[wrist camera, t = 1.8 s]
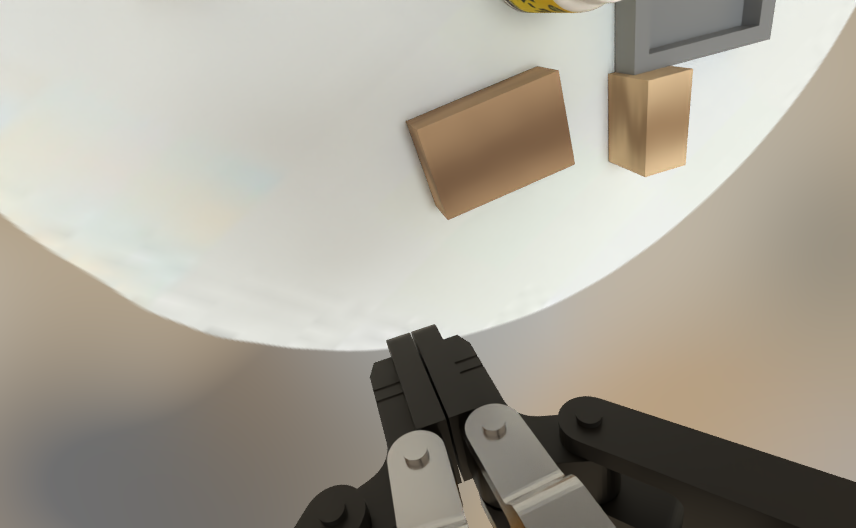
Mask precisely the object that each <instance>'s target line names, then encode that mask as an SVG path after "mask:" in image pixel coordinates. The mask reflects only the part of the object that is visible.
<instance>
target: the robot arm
mask: <svg viewBox="0 0 856 528" xmlns="http://www.w3.org/2000/svg"><path fill="white" fill-rule="evenodd" d="M411 333H412V337H411V334H410V333H407V334H404V335H401V336H398V337H395V338H392V339H389V340H386V341H387V345H388V348H389V352H390V354H391V357H390V358H387V359H384V360H381V361H378V362H375V363H374V365H373V368H372V372H371V375H370V379H371V383H372V387H373V391H374V395H375V399H376V402H377V407H378V411H379V414H380V418H381V422H382V426H383V430H384V434H385V438H386V441H387V447H388V452H387V457H386V460H385V462H384V464H383V466H382V468H381V469H380V470H379V472H378V473H377V474H376V475H375V476H374V477H372V478H371V479H370V480H369V481H367V482H366V483H365V484H363V485H362V486H360V487H359V488H358V489H356V488H354V487H352V486H348V485H337V486H333V487H330V488H328V489H325V490H324V491H322V492H321V493H319V494H318V495H317V496H316V497H315V498H314V499H313V500H312V501H311V502H310V503H309V505H308V506H307V508H306V510H305V511H304V513H303V514H302V516H301V518H300V519H299V521H298V523H297V524H296V526H295V527H294V528H469V526H468V524H467V520H466V518H465V515H464V511H463V504H462V500H461V496H460V492H459V488H458V484H459V483H462V482H461V478H460V474H459V470H460V472H461V475H462V477H463V480H464V481H467V480H470V479H472V478H473V480H474V482H475V484H476V487H477V489H478V491H479V495H480V500H481V505H482V507H483V509H484V511H485V513H486V515H487V517H488V519H489V521H490V523H491V525H492V527H493V528H856V482H853V481H850V480H848V479H845V478H841V477H838V476H835V475H832V474H829V473H826V472H823V471H820V470H817V469H814V468H811V467H808V466H805V465H801V464H798V463H796V462H792V461H789V460H786V459H783V458H780V457H777V456H774V455H771V454H768V453H765V452H762V451H759V450H756V449H753V448H750V447H747V446H743V445H740V444H737V443H734V442H731V441H728V440H725V439H722V438H719V437H716V436H713V435H710V434H707V433H703V432H701V431H698V430H694V429H691V428H688V427H685V426H682V425H679V424H676V423H673V422H670V421H667V420H663V419H661V418H658V417H655V416H652V415H649V414H645V413H642V412H639V411H636V410H633V409H630V408H627V407H624V406H621V405H618V404H615V403H612V402H609V401H606V400H602V399H599V398H596V397H589V396H588V397H587V396H583V397H577V398H574V399H571V400H569V401H568V402H566V403H565V404H564V405H563V406H562V407H561V409H560V411H559V414H558V415H552V416H527V415H523V414H520V413H518V412H517V411H516V410H514V409H513V408H511V407H509V406H508V405H507V404H506V403H505V402H504V400H503V398H502V397H501V395H500V393H499V391H498V390H497V388H496V387H495V385H494V383H493V381H492V380H491V378H490V377H489V375H488V373H487V371H486V369H485V368H484V367H483V365H482V363H481V361H480V359H479V358H478V357H477V354H476V353H475V351H474V349H473V347H472V346H471V344H470V343H469V342H467V341H466V340H464V339H463V338H461V337H460V336H458V335H455V336H452V337H449V338H447V339H444V340H443V339H442V337H441V335H440V333H439V331H438V329H437V327H436V325H435V324H434V325H431V326H428V327H425V328H422V329H419V330H416V331H413V332H411ZM412 338H413V339H412ZM457 465H458V466H457ZM458 467H459V470H458Z"/></svg>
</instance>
